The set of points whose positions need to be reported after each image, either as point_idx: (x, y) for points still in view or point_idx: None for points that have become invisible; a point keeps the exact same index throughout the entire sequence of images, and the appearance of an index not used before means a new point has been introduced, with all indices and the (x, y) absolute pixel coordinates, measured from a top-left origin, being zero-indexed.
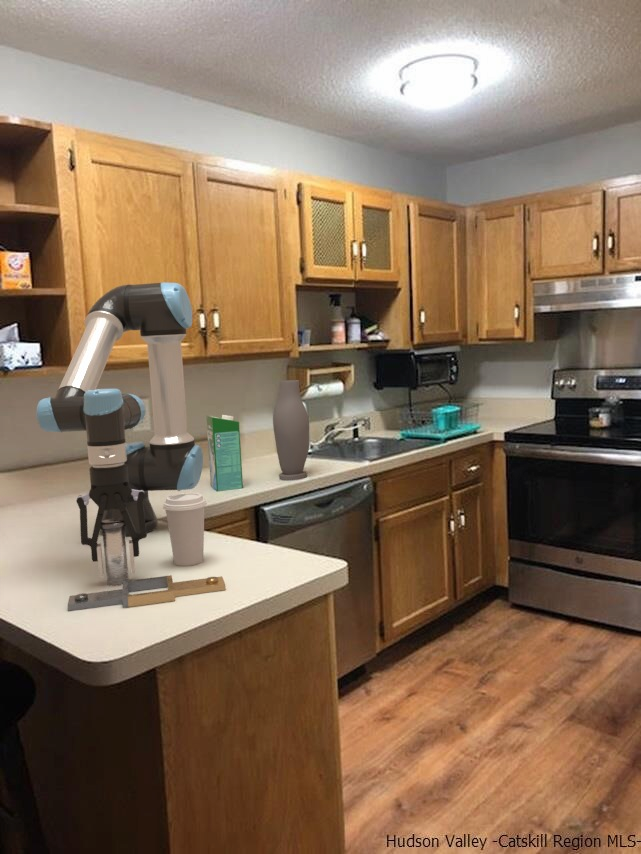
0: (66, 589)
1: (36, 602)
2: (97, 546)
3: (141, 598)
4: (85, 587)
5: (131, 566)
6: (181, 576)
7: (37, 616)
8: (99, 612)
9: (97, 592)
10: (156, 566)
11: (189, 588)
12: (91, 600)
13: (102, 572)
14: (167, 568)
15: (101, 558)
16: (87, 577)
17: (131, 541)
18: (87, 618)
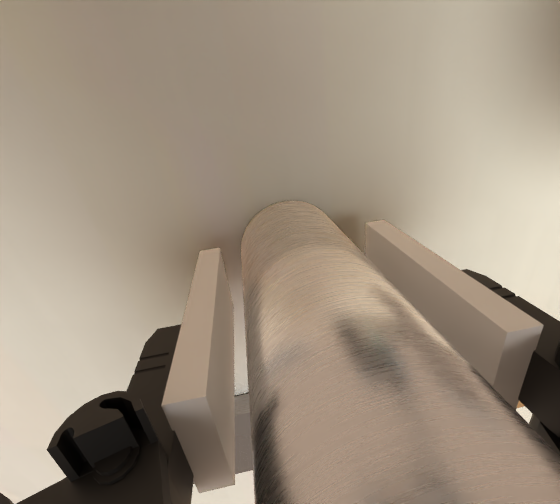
0: (61, 298)
1: (5, 410)
2: (200, 478)
3: None
4: (150, 287)
5: None
6: (539, 231)
7: None
8: None
9: (244, 416)
10: (483, 20)
11: (523, 405)
12: (240, 465)
13: (233, 324)
14: (524, 88)
15: (233, 383)
16: (92, 128)
17: (517, 376)
18: (248, 497)
